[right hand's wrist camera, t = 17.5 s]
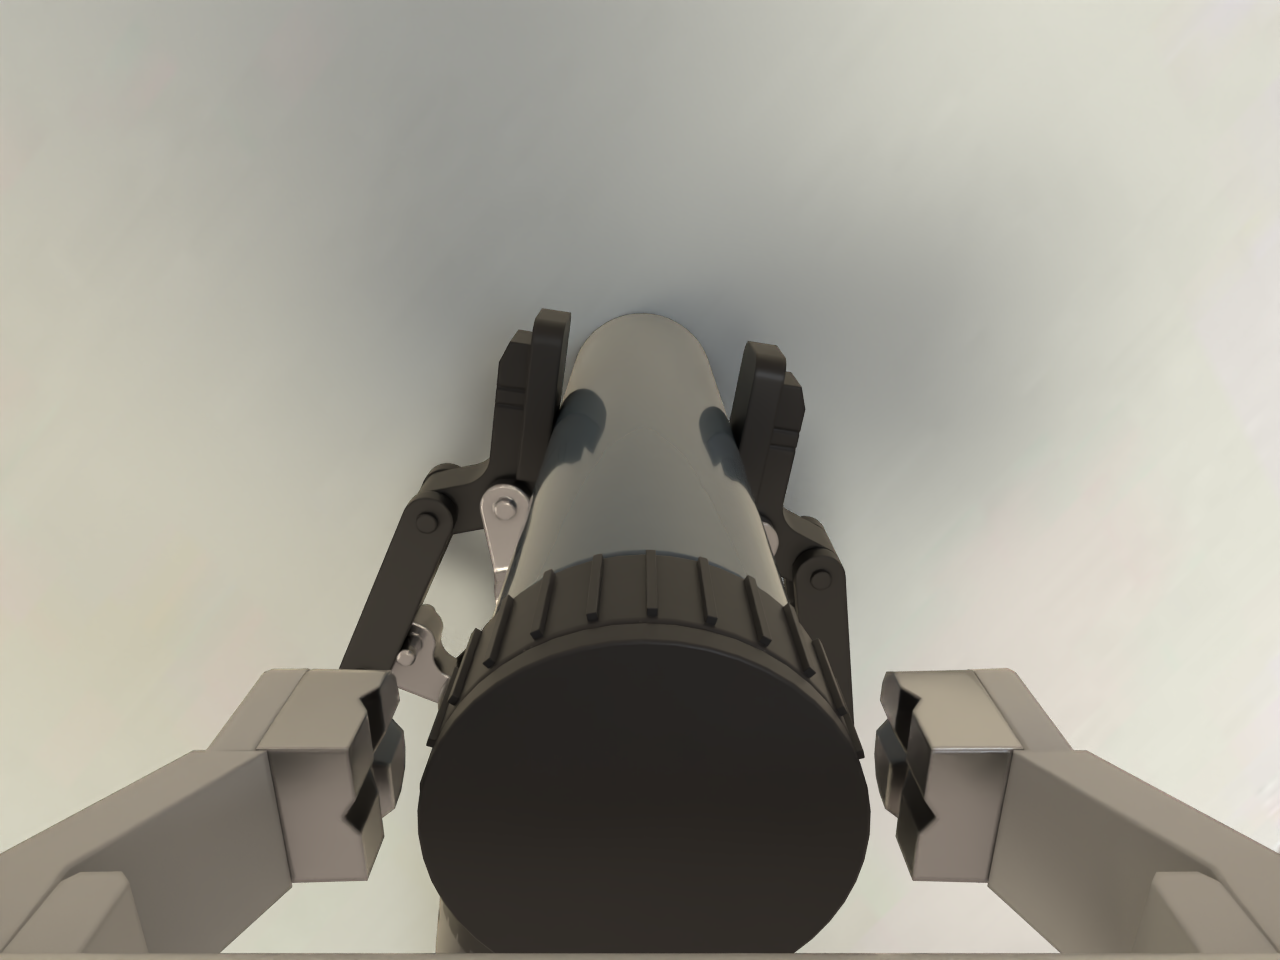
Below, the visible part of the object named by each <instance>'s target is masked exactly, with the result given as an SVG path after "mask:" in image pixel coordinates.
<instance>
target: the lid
mask: <svg viewBox="0 0 1280 960" xmlns="http://www.w3.org/2000/svg"><path fill="white" fill-rule="evenodd" d="M426 746H429V747H433V748H432V751H431V754H430V756H429V759H428V762H427V765H426V768H425V770H424V773H423V776H422V779H421V782H420V796H419V803H418V835H419V840H420V845H421V850H422V855H423V859H424V862H425V865H426V867H427V870H428V873H429V875H430V878H431V881H432V883H433V884H434V886H435V888H436V890H437V892H438V893H439V895H440V897H441V899H442V901H443V902H444V904H445V905H446V906H447V908H448V909H449V910H450V911H451V913H452V914H453V915H454V917H455V918H456V919H457V921H458V922H459V923H460V924H461V925H462V926H463V927H464V928H465V929H466V930H467V931H468V932H469V933H470V934H471V935H472V936H473V937H474V938H475V939H476V940H478V941H479V942H480V943H482V944H483V945H484V946H485V947H487V948H488V949H489V950H490V951H492V952H493V953H795V952H796V951H797V950H799V949H800V948H801V947H802V946H804V945H805V944H806V943H808V942H809V941H810V940H811V939H813V938H814V937H815V936H816V935H817V934H818V933H819V932H820V931H821V930H822V929H823V928H824V927H825V926H826V925H827V924H828V923H829V922H830V920H831V919H832V918H833V917H834V915H835V914H836V913H837V911H838V910H839V909H840V907H841V906H842V905H843V903H844V902H845V900H846V899H847V897H848V895H849V893H850V891H851V890H852V888H853V886H854V884H855V883H856V880H857V878H858V875H859V873H860V870H861V867H862V865H863V862H864V859H865V854H866V850H867V845H868V840H869V835H870V813H871V811H870V803H869V795H868V787H867V784H866V781H865V777H864V774H863V771H862V767H861V764H860V761H859V759H862V758H865V756H864V752H863V749H862V746H861V743H860V741H859V738H858V735H857V733H856V730H855V727H854V725H853V722H852V719H851V717H850V714H849V711H848V709H847V706H846V703H845V701H844V698H843V695H842V693H841V690H840V687H839V685H838V682H837V679H836V678H835V677H834V675H833V672H832V669H831V667H830V664H829V661H828V659H827V656H826V653H825V651H824V648H823V645H822V643H821V641H820V640H819V638H817V639H815V640H813V641H812V640H811V638H810V637H809V635H808V634H807V632H806V631H805V630H804V628H803V627H802V625H801V624H800V623H799V621H798V618H797V615H796V612H795V609H794V607H793V606H792V605H791V604H789V603H787V604H786V605H785V606H782V605H781V604H780V603H779V602H778V601H776V600H775V599H774V598H773V597H771V596H770V595H769V594H768V593H766V592H765V591H763V590H762V589H760V588H758V587H757V583H756V579H755V578H753V577H751V576H750V575H747V576H746V578H745V579H743V578H741V577H739V576H736V575H734V574H732V573H730V572H728V571H725V570H723V569H721V568H718V567H714V566H711V565H709V563H708V559H707V558H703V557H699V558H698V561H694V560H689V559H683V558H678V557H672V556H660V555H656V551H655V550H646V555H642V554H640V555H627V556H615V557H609V558H604V559H603V555H602V554H597V555H593V560H592V561H589V562H586V563H583V564H579V565H576V566H573V567H569V568H566V569H564V570H562V571H560V572H557V573H554V571H553V570H552V569H550V570H548V571H546V572H544V574H543V579H542V580H540V581H539V582H537V583H535V584H534V585H532V586H530V587H529V588H527V589H526V590H524V591H522V592H521V593H519V594H518V595H517V596H516V597H515V598H512V597H511V596H510V595H507V596H506V597H505V598H503V599H502V603H501V606H500V609H499V611H498V612H497V614H496V615H495V616H494V617H493V618H492V619H491V620H490V621H489V622H488V623H487V624H486V625H485V627H484V628H483V630H482V631H480V630H479V629H477V628H475V630H474V631H473V632H472V634H471V636H470V639H469V642H468V645H467V648H466V650H465V653H464V656H463V659H462V662H461V664H460V667H459V668H457V667H454V670H453V673H452V675H451V678H450V681H449V683H448V686H447V689H446V692H445V694H444V697H443V700H442V702H441V705H440V708H439V711H438V713H437V716H436V719H435V722H434V724H433V727H432V730H431V732H430V735H429V738H428V741H427V744H426Z"/></svg>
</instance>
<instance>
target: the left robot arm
mask: <svg viewBox="0 0 1280 960" xmlns="http://www.w3.org/2000/svg"><path fill="white" fill-rule="evenodd" d="M570 322H571V313H569V312H563V311H557V310H550V309H544V308H542V309H541V311H540V312H539V314H538V315H537V317H536V318H535V322H534V326H533V332H531V331H524V330H518V331H517V333H516V334H515V335H514V337H513V338H512V340H511V341H510V343H509V345H508V346H507V348H506V350H505V352H504V354H503V356H502V358H501V359H500V361H499V368H498V378H497V389H496V399H495V409H494V420H493V430H492V440H491V451H490V458H489V459H487V460H486V461H484V462H482V463H479V464H476V465H470V466H465V467H460V466H458V465H455V464H451V463H444V464H440V465H437V466H436V467H434V468H433V469H432V470H431V471H430V472H429V474H428V475H427V477H426V478H425V480H424V482H423V484H422V487H421V489H420V491H419V492H418V494H417V495H415V496H414V497H413V498H412V499H411V500H410V502H409V503H408V505H407V506H406V508H405V510H404V512H403V514H402V516H401V519H400V521H399V524H398V526H397V529H396V531H395V533H394V536H393V538H392V541H391V543H390V546H389V548H388V551H387V553H386V555H385V558H384V560H383V563H382V565H381V568H380V570H379V572H378V575H377V577H376V580H375V582H374V585H373V587H372V589H371V592H370V594H369V597H368V599H367V602H366V604H365V606H364V609H363V611H362V614H361V616H360V619H359V621H358V624H357V626H356V628H355V631H354V633H353V636H352V638H351V641H350V643H349V645H348V648H347V650H346V653H345V655H344V658H343V660H342V662H341V665H340V667H339V669H344V670H391V671H392V672H393V674H394V675H395V676H396V679H397V685H398V688H400V689H403V690H405V691H408V692H410V693H413V694H416V695H418V696H421V697H423V698H426V699H429V700H431V701H434V702H436V703H438V710H439V708H440V705H441V702H442V700H443V697H444V694H445V692H446V689H447V686H448V683H449V681H450V678H451V675H452V673H453V670H454V667H457V668H459V667H460V664H461V662H462V659H463V656H464V653H465V650H466V649H465V650H464V651H463V652H462V653H461V654H460V655H459V656H458V657H457V658H455V657H453V656H451V655H450V654H449V653H448V652H447V651H446V650H445V649H444V647H443V645H442V641H441V635H442V631H443V622H442V620H441V618H440V616H439V615H438V614H437V613H436V610H435V608H434V607H433V606H431V605H429V604H423V602H424V599H425V597H426V595H427V593H428V590H429V588H430V586H431V583H432V581H433V579H434V577H435V574H436V572H437V570H438V567H439V565H440V563H441V561H442V558H443V556H444V554H445V551H446V549H447V547H448V545H449V542H450V540H451V538H452V535H453V534H458V533H463V532H469V531H474V530H480V529H484V530H485V534H486V539H487V543H488V547H489V552H490V556H491V560H492V565H493V569H494V577H495V582H494V593H495V602H496V604H497V601H498V598H499V595H500V592H501V588H502V585H503V582H504V579H505V576H506V573H507V570H508V567H509V564H510V561H511V558H512V555H513V552H514V548H515V545H516V542H517V539H518V536H519V533H520V530H521V527H522V524H523V521H524V518H525V515H526V511H527V508H528V505H529V502H530V499H531V496H532V493H533V490H534V487H535V484H536V481H537V478H538V474H539V471H540V468H541V465H542V462H543V459H544V456H545V453H546V450H547V447H548V444H549V441H550V438H551V434H552V431H553V428H554V425H555V422H556V419H557V416H558V413H559V410H560V402H561V394H562V387H563V379H564V371H565V363H566V355H567V347H568V339H569V331H570ZM804 413H805V405H804V399H803V393H802V387H801V386H800V384H799V383H798V381H797V380H796V378H795V377H794V376H793V374H792V373H791V372H786V358H785V356H784V355H783V354H782V352H781V351H780V349H779V348H778V347H777V346H776V345H770V344H763V343H757V342H751V341H748V342H747V344H746V346H745V350H744V353H743V358H742V363H741V368H740V373H739V378H738V383H737V388H736V392H735V397H734V402H733V407H732V412H731V417H730V422H729V424H730V427H731V430H732V433H733V436H734V439H735V442H736V445H737V448H738V450H739V453H740V456H741V459H742V462H743V465H744V468H745V471H746V474H747V477H748V480H749V483H750V486H751V489H752V492H753V495H754V498H755V501H756V504H757V507H758V510H759V513H760V516H761V519H762V522H763V525H764V528H765V531H766V534H767V537H768V540H769V543H770V546H771V549H772V552H773V555H774V558H775V561H776V564H777V567H778V570H779V573H780V576H781V577H783V578H784V588H785V591H786V594H787V597H788V600H789V603H790V604H791V605H792V606H793V607H794V609H795V612H796V615H797V618H798V621H799V623H800V624H801V625H802V627H803V628H804V630H805V631H806V632H807V634H808V635H809V637H810V638H811V640H812V641H813V640H815V639H817V638H819V640H820V641H821V643H822V645H823V648H824V651H825V653H826V656H827V659H828V661H829V664H830V667H831V669H832V672H833V675H834V677H835V678H836V679H837V682H838V685H839V687H840V690H841V693H842V695H843V698H844V701H845V703H846V706H847V709H848V711H849V714H850V717H851V719H852V722H853V725H854V716H853V698H852V681H851V664H850V646H849V629H848V611H847V594H846V577H845V571H844V568H843V566H842V564H841V562H840V560H839V558H838V556H837V554H836V552H835V550H834V548H833V546H832V544H831V542H830V540H829V538H828V536H827V534H826V532H825V530H824V527H823V526H822V524H821V523H820V522H819V521H818V520H816V519H814V518H812V517H808V516H801V517H800V516H798V515H796V514H794V513H792V512H790V511H788V510H787V509H785V508H784V507H783V502H784V498H785V493H786V489H787V485H788V481H789V476H790V472H791V468H792V464H793V459H794V455H795V449H796V447H797V442H798V438H799V432H800V430H801V425H802V421H803V417H804ZM422 604H423V605H422ZM436 953H493V952H492V951H490V950H489V949H488V948H487V947H485V946H484V945H483V944H482V943H480V942H479V941H478V940H476V939H475V938H474V937H473V936H472V935H471V934H470V933H469V932H468V931H467V930H466V929H465V928H464V927H463V926H462V925H461V924H460V923H459V922H458V921H457V919H456V918H455V917H454V915H453V914H452V913H451V911H450V910H449V909H448V908H447V906H446V905H445V904H444V902H443V901H442V899H441V897H440V904H439V915H438V925H437V937H436Z"/></svg>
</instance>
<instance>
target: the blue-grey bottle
mask: <svg viewBox="0 0 1280 960" xmlns="http://www.w3.org/2000/svg"><path fill="white" fill-rule="evenodd" d="M646 550H655V551H656V555H660V556H672V557H678V558H683V559H689V560H694V561H698V558H699V557H703V558H707V559H708V563H709V565H711V566H714V567H718V568H721V569H723V570H725V571H728V572H730V573H732V574H734V575H736V576H739V577H741V578H743V579H745V578H746V576H747V575H750V576H751V577H753V578H755V579H756V583H757V587H758V588H760V589H762V590H763V591H765V592H766V593H768V594H769V595H770V596H771V597H773V598H774V599H775V600H776V601H778V602H779V603H780V604H781V605H782V606H785V605H786V604H787V603H789V600H788V597H787V594H786V591H785V588H784V585H783V582H782V579H781V576H780V573H779V570H778V567H777V564H776V561H775V558H774V555H773V552H772V549H771V546H770V543H769V540H768V537H767V534H766V531H765V528H764V525H763V522H762V519H761V516H760V513H759V510H758V507H757V504H756V501H755V498H754V495H753V492H752V489H751V486H750V483H749V480H748V477H747V474H746V471H745V468H744V465H743V462H742V459H741V456H740V453H739V450H738V448H737V445H736V442H735V439H734V436H733V433H732V430H731V427H730V424H729V421H728V418H727V415H726V412H725V409H724V406H723V403H722V400H721V397H720V394H719V391H718V388H717V385H716V382H715V379H714V376H713V373H712V370H711V367H710V364H709V361H708V358H707V356H706V354H705V351H704V349H703V348H702V346H701V344H700V343H699V342H698V340H697V339H696V338H695V337H694V335H693V334H691V333H690V332H689V331H688V330H687V329H686V328H685V327H683V326H682V325H680V324H679V323H677V322H675V321H673V320H671V319H669V318H666V317H663V316H660V315H655V314H648V313H635V314H629V315H624V316H621V317H618V318H615V319H613V320H611V321H609V322H607V323H605V324H604V325H602V326H600V327H599V328H598V329H597V330H596V331H594V332H593V333H592V334H591V335H590V336H589V338H588V339H587V340H586V341H585V343H584V344H583V346H582V347H581V349H580V351H579V353H578V355H577V358H576V361H575V364H574V367H573V370H572V373H571V376H570V379H569V382H568V385H567V388H566V391H565V394H564V397H563V401H562V404H561V407H560V410H559V413H558V416H557V419H556V422H555V425H554V428H553V431H552V434H551V438H550V441H549V444H548V447H547V450H546V453H545V456H544V459H543V462H542V465H541V468H540V471H539V474H538V478H537V481H536V484H535V487H534V490H533V493H532V496H531V499H530V502H529V505H528V508H527V511H526V515H525V518H524V521H523V524H522V527H521V530H520V533H519V536H518V539H517V542H516V545H515V548H514V552H513V555H512V558H511V561H510V564H509V567H508V570H507V573H506V576H505V579H504V582H503V585H502V588H501V592H500V595H499V598H498V601H497V604H496V607H495V610H494V613H493V616H492V618H493V617H494V616H495V615H496V614H497V612H498V611H499V609H500V606H501V603H502V599H503V598H505V597H506V596H507V595H510V596H511V597H512V598H515V597H516V596H517V595H518V594H519V593H521V592H522V591H524V590H526V589H527V588H529V587H530V586H532V585H534V584H535V583H537V582H539V581H540V580H542V579H543V574H544V572H546V571H548V570H550V569H552V570H553V571H554V573H557V572H560V571H562V570H564V569H566V568H569V567H573V566H576V565H579V564H583V563H586V562H589V561H592V560H593V555H597V554H602V555H603V559H604V558H609V557H615V556H627V555H640V554H642V555H646ZM789 604H790V603H789Z"/></svg>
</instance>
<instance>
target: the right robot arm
mask: <svg viewBox="0 0 1280 960" xmlns="http://www.w3.org/2000/svg"><path fill="white" fill-rule="evenodd" d="M399 701H400V698H399V692H398V685H397V679H396V676H395V675H394V674H393V672H392V671H391V670H344V669H312V670H310V669H271V670H268V671H266V672H264V673H263V674H262V675H261V677H260V678H259V680H258V681H257V682H256V684H255V685H254V686H253V688H252V689H251V690H250V692H249V693H248V694H247V696H246V697H245V698H244V700H243V701H242V702H241V704H240V705H239V707H238V708H237V709H236V711H235V712H234V713H233V715H232V716H231V717H230V719H229V720H228V721H227V723H226V724H225V725H224V727H223V728H222V730H221V731H220V732H219V734H218V735H217V736H216V738H215V739H214V740H213V742H212V743H211V744H210V746H209V747H208V748H207V750H193V751H191V752H189V753H188V754H186V755H184V756H182V757H180V758H178V759H176V760H175V761H173V762H171V763H169V764H167V765H165V766H163V767H161V768H160V769H158V770H156V771H154V772H152V773H150V774H148V775H147V776H145V777H143V778H141V779H139V780H137V781H135V782H133V783H132V784H130V785H128V786H126V787H124V788H122V789H120V790H119V791H117V792H115V793H113V794H111V795H109V796H107V797H105V798H104V799H102V800H100V801H98V802H96V803H94V804H92V805H91V806H89V807H87V808H85V809H83V810H81V811H79V812H77V813H76V814H74V815H72V816H70V817H68V818H66V819H64V820H63V821H61V822H59V823H57V824H55V825H53V826H51V827H49V828H48V829H46V830H44V831H42V832H40V833H38V834H36V835H34V836H33V837H31V838H29V839H27V840H25V841H23V842H21V843H20V844H18V845H16V846H14V847H12V848H10V849H8V850H6V851H5V852H3V853H1V854H0V960H1280V854H1278V853H1277V852H1275V851H1273V850H1271V849H1269V848H1267V847H1265V846H1264V845H1262V844H1260V843H1258V842H1256V841H1254V840H1252V839H1250V838H1249V837H1247V836H1245V835H1243V834H1241V833H1239V832H1237V831H1236V830H1234V829H1232V828H1230V827H1228V826H1226V825H1224V824H1223V823H1221V822H1219V821H1217V820H1215V819H1213V818H1211V817H1210V816H1208V815H1206V814H1204V813H1202V812H1200V811H1198V810H1197V809H1195V808H1193V807H1191V806H1189V805H1187V804H1185V803H1183V802H1182V801H1180V800H1178V799H1176V798H1174V797H1172V796H1170V795H1169V794H1167V793H1165V792H1163V791H1161V790H1159V789H1157V788H1156V787H1154V786H1152V785H1150V784H1148V783H1146V782H1144V781H1143V780H1141V779H1139V778H1137V777H1135V776H1133V775H1131V774H1130V773H1128V772H1126V771H1124V770H1122V769H1120V768H1118V767H1116V766H1115V765H1113V764H1111V763H1109V762H1107V761H1105V760H1103V759H1102V758H1100V757H1098V756H1096V755H1094V754H1092V753H1090V752H1089V751H1087V750H1073V749H1072V747H1071V746H1070V745H1069V743H1068V742H1067V741H1066V739H1065V738H1064V737H1063V735H1062V734H1061V733H1060V731H1059V730H1058V728H1057V727H1056V726H1055V724H1054V723H1053V722H1052V720H1051V719H1050V718H1049V716H1048V715H1047V714H1046V712H1045V711H1044V710H1043V708H1042V707H1041V706H1040V704H1039V703H1038V702H1037V700H1036V699H1035V698H1034V696H1033V695H1032V694H1031V692H1030V691H1029V690H1028V688H1027V687H1026V686H1025V684H1024V683H1023V682H1022V680H1021V679H1020V677H1019V676H1018V675H1017V673H1016V672H1014V671H1012V670H1010V669H1008V668H996V669H968V670H945V671H898V672H886V674H885V677H884V680H883V683H882V690H881V697H880V701H881V704H882V706H883V708H884V711H885V713H886V715H887V718H888V719H887V720H886V721H885V722H884V723H883V724H882V725H881V726H880V727H879V728H878V729H877V731H876V741H875V753H874V754H875V771H876V779H877V784H878V788H879V793H880V796H881V798H882V801H883V804H884V807H885V809H887V810H888V811H889V812H891V813H892V814H893V815H894V816H896V817H897V818H898V822H897V829H896V839H897V841H898V844H899V846H900V849H901V852H902V854H903V857H904V859H905V862H906V864H907V867H908V870H909V872H910V875H911V877H912V880H913V881H943V882H979V883H988V887H989V888H990V889H991V890H992V891H993V892H994V893H995V894H997V895H998V896H999V897H1000V898H1001V899H1002V900H1003V901H1004V902H1005V903H1006V904H1007V905H1009V906H1010V907H1011V908H1012V909H1013V910H1014V911H1015V912H1016V913H1017V914H1018V915H1020V916H1021V917H1022V918H1023V919H1024V920H1025V921H1026V922H1027V923H1028V924H1029V925H1030V926H1032V927H1033V928H1034V929H1035V930H1036V931H1037V932H1038V933H1039V934H1040V935H1041V936H1042V937H1044V938H1045V939H1046V940H1047V941H1048V942H1049V943H1050V944H1051V945H1052V946H1053V947H1055V948H1056V949H1057V950H1058V951H1059V952H1060V953H220V952H221V951H222V950H223V949H225V948H226V947H227V946H228V945H229V944H230V943H231V942H232V941H233V940H234V939H236V938H237V937H238V936H239V935H240V934H241V933H242V932H243V931H244V930H245V929H247V928H248V927H249V926H250V925H251V924H252V923H253V922H254V921H255V920H256V919H257V918H259V917H260V916H261V915H262V914H263V913H264V912H265V911H266V910H267V909H268V908H270V907H271V906H272V905H273V904H274V903H275V902H276V901H277V900H278V899H279V898H281V897H282V896H283V895H284V894H285V893H286V892H287V891H288V890H289V889H290V888H292V883H301V882H335V881H367V880H368V877H369V875H370V872H371V870H372V867H373V864H374V862H375V859H376V857H377V854H378V851H379V849H380V846H381V844H382V841H383V838H384V830H383V822H382V818H383V817H384V816H385V815H387V814H388V813H389V812H391V811H392V810H393V809H395V806H396V804H397V801H398V798H399V795H400V792H401V788H402V782H403V776H404V770H405V740H404V731H403V730H402V728H401V727H400V726H399V725H398V724H397V723H396V722H395V721H394V720H393V719H392V717H393V715H394V713H395V710H396V708H397V706H398V703H399Z"/></svg>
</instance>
